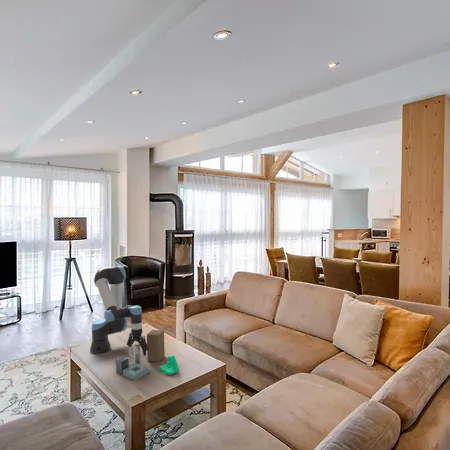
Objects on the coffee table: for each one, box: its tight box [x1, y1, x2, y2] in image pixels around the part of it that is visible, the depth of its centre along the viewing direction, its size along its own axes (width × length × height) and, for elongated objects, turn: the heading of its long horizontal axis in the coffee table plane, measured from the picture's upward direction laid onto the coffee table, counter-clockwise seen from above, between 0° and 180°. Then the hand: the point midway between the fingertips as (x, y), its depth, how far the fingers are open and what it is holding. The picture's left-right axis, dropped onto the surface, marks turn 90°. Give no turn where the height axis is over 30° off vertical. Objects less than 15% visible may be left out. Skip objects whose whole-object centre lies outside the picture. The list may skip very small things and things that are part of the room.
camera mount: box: [159, 354, 180, 376], centre depth 220 cm, size 12×8×10 cm, turn 45°
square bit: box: [115, 355, 130, 376], centre depth 220 cm, size 6×6×9 cm
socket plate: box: [122, 363, 150, 381], centre depth 217 cm, size 12×12×4 cm
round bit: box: [133, 343, 142, 365], centre depth 231 cm, size 4×4×14 cm
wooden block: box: [146, 329, 166, 363], centre depth 239 cm, size 10×10×20 cm
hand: (137, 357), depth 231 cm, fingers open, 13 cm apart
